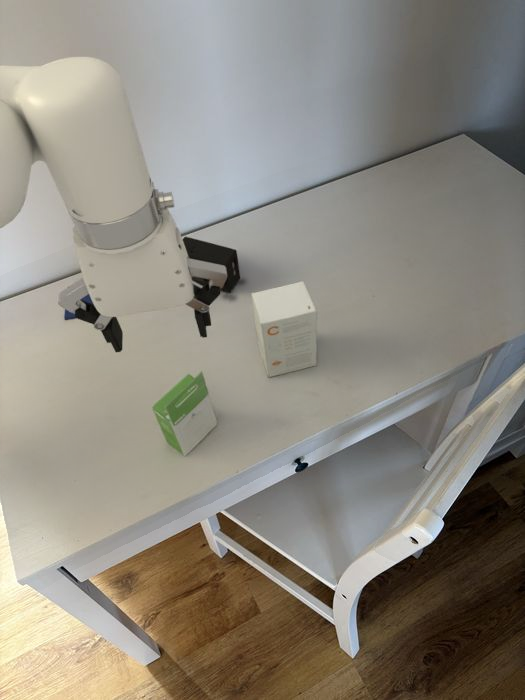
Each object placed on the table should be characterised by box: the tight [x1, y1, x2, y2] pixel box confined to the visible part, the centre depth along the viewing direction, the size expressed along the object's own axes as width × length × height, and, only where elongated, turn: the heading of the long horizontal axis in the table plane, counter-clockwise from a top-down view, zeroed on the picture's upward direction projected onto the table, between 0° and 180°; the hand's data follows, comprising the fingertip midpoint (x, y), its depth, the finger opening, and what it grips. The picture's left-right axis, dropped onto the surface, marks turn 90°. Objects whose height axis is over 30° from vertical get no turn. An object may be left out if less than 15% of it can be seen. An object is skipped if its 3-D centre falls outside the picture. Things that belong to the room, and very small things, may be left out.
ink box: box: [151, 370, 218, 457], centre depth 73 cm, size 7×4×13 cm, turn 139°
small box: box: [251, 280, 318, 378], centre depth 81 cm, size 8×6×13 cm
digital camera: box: [182, 236, 241, 294], centre depth 95 cm, size 10×5×7 cm, turn 65°
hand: (161, 335), depth 61 cm, fingers open, 9 cm apart
